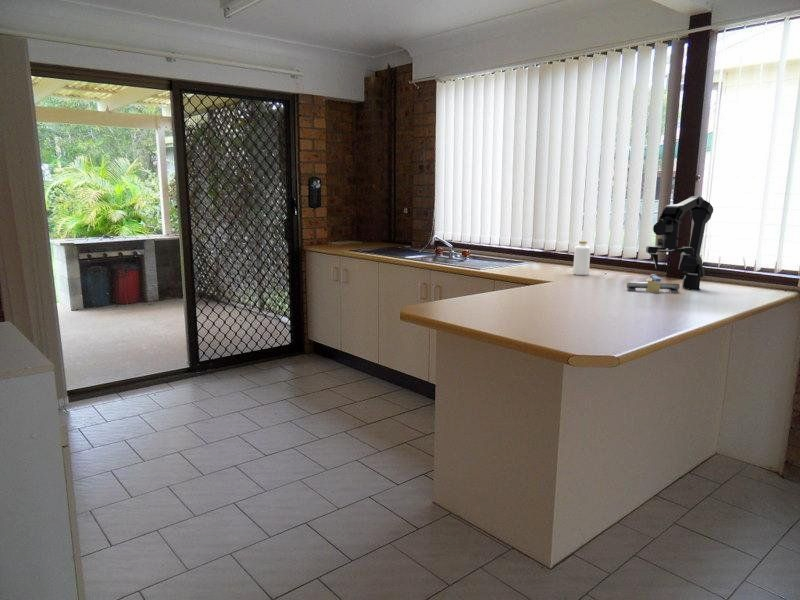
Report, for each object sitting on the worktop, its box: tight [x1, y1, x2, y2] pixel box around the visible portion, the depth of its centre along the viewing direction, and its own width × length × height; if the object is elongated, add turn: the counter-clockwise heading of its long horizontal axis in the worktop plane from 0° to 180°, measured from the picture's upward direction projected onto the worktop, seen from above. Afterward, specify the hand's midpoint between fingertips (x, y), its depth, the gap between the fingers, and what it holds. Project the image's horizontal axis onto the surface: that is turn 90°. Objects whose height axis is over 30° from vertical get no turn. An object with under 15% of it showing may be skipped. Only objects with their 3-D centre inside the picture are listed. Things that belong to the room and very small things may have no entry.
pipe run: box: [626, 278, 680, 294], centre depth 259 cm, size 22×5×6 cm, turn 76°
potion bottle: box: [572, 240, 592, 276], centre depth 307 cm, size 8×8×18 cm
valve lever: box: [649, 273, 662, 283], centre depth 254 cm, size 12×3×1 cm, turn 166°
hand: (667, 269), depth 251 cm, fingers open, 9 cm apart
